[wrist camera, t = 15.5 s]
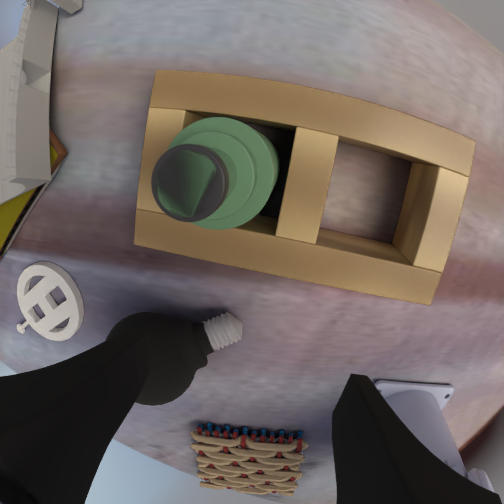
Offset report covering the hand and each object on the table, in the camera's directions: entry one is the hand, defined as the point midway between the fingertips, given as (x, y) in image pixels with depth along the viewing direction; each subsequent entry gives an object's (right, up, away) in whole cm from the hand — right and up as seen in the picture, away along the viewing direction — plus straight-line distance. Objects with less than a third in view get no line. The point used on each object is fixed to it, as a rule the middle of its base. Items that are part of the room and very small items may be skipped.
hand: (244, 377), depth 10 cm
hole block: (+3, +9, +8) cm, 12 cm away
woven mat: (0, -17, +14) cm, 22 cm away
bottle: (0, +9, +8) cm, 12 cm away
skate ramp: (-17, +16, +7) cm, 24 cm away
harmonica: (-19, +8, +8) cm, 22 cm away
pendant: (-19, -1, +13) cm, 22 cm away
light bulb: (-5, -1, +12) cm, 13 cm away
